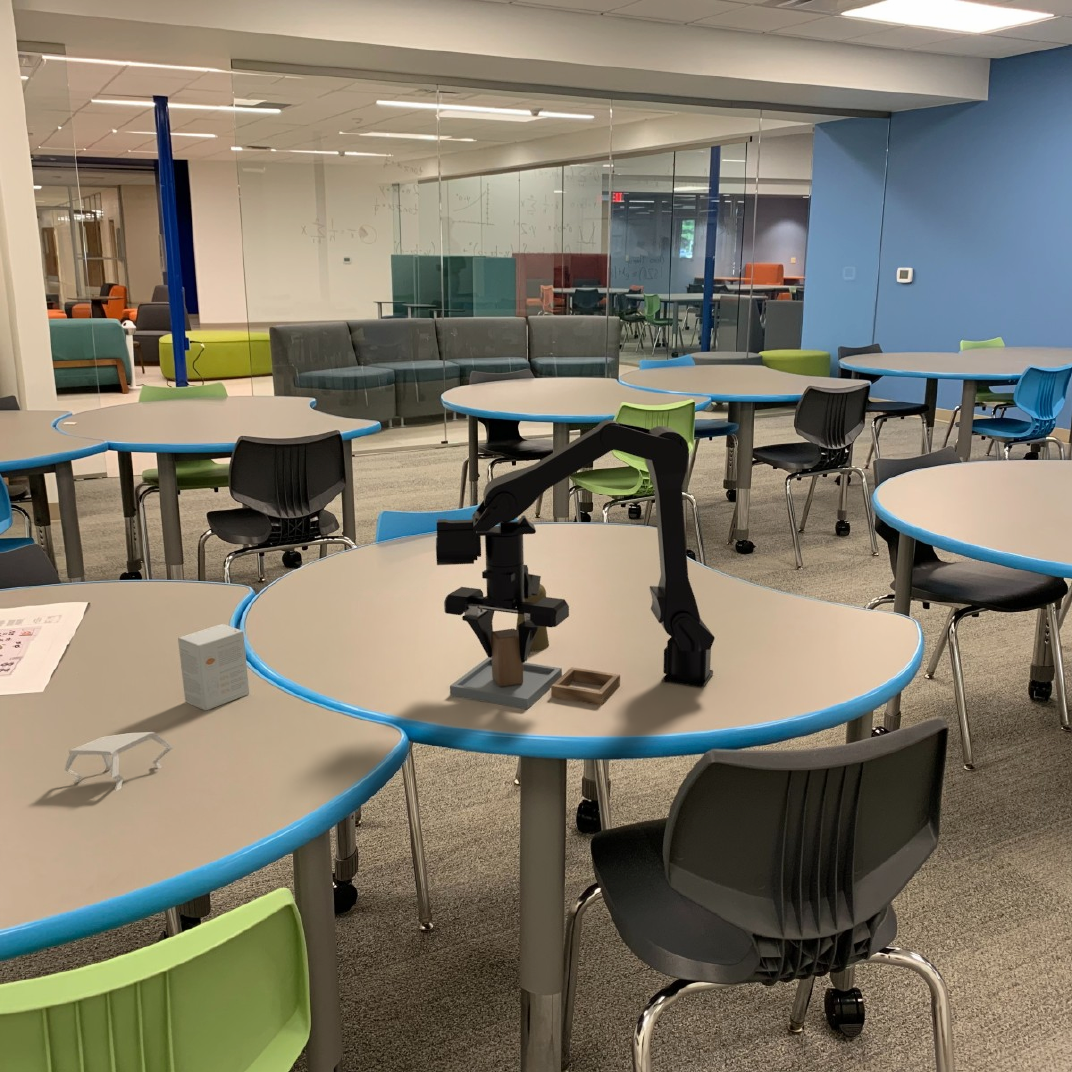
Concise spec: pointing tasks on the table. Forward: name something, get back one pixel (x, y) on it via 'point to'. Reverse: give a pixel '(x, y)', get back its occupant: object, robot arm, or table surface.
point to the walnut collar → (584, 695)
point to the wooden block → (506, 658)
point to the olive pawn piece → (541, 635)
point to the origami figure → (114, 751)
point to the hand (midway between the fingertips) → (507, 659)
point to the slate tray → (522, 695)
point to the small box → (213, 666)
